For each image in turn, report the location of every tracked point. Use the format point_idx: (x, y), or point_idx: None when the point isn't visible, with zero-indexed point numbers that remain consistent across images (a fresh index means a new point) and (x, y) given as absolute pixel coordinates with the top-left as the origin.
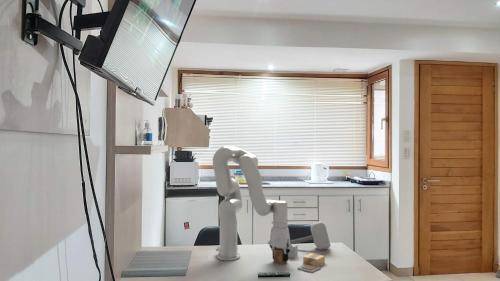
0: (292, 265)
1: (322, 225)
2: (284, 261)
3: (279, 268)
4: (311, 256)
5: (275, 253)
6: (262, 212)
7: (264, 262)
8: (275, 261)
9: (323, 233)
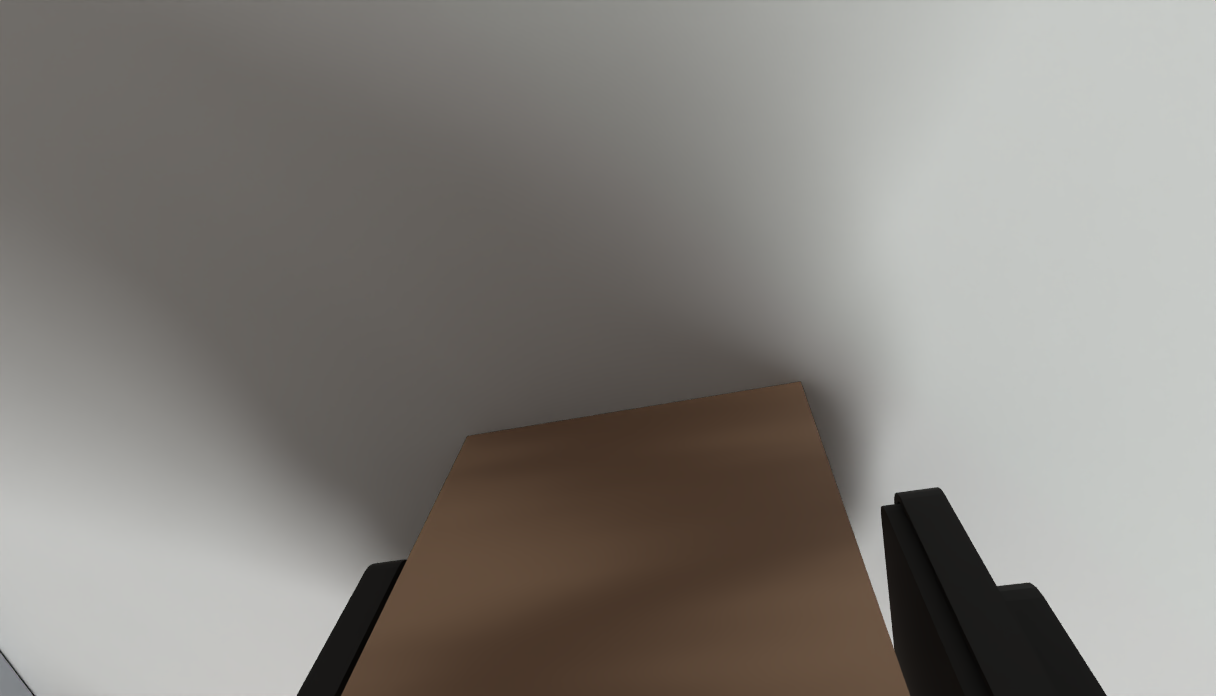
0: (243, 604)
1: None
2: (372, 569)
3: (111, 115)
4: None
5: (730, 676)
6: None
7: (1071, 98)
8: (710, 424)
9: None
